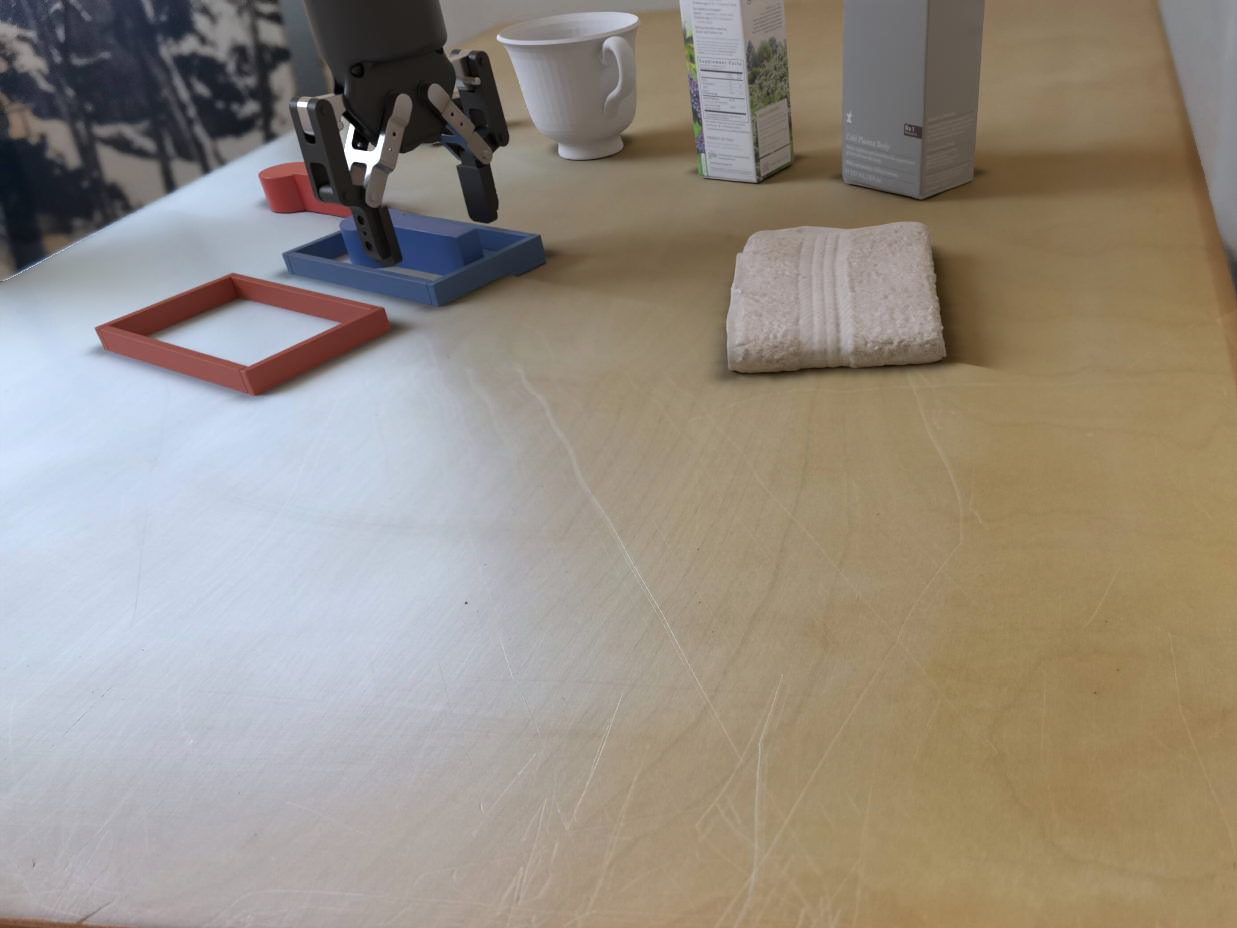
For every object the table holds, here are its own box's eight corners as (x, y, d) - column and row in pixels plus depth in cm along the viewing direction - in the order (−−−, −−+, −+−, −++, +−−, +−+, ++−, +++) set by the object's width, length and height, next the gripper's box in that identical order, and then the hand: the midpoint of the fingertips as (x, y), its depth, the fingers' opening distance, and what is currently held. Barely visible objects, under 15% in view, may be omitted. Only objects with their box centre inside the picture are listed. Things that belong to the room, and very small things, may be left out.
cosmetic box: (840, 184, 87) (828, -52, 77) (902, 161, 91) (898, -68, 81) (924, 204, 82) (921, -47, 72) (986, 178, 85) (991, -64, 76)
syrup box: (738, 158, 95) (716, -40, 86) (797, 164, 92) (782, -39, 83) (698, 178, 91) (672, -26, 82) (759, 185, 88) (739, -26, 79)
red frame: (107, 356, 70) (93, 327, 69) (243, 299, 76) (232, 272, 75) (258, 403, 63) (245, 372, 61) (394, 337, 69) (384, 307, 68)
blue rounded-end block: (338, 265, 79) (324, 222, 77) (387, 244, 82) (374, 202, 80) (454, 289, 74) (442, 243, 72) (502, 266, 76) (491, 221, 75)
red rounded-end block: (259, 209, 93) (245, 172, 91) (303, 193, 96) (291, 157, 94) (351, 226, 87) (339, 187, 85) (396, 209, 90) (384, 170, 88)
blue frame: (290, 280, 78) (281, 253, 77) (399, 235, 85) (391, 209, 84) (440, 314, 71) (432, 284, 70) (546, 262, 78) (541, 234, 77)
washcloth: (928, 254, 74) (927, 205, 72) (952, 374, 59) (952, 318, 57) (746, 265, 74) (741, 218, 72) (727, 387, 60) (720, 333, 58)
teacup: (583, 187, 91) (557, 51, 85) (498, 155, 101) (470, 31, 95) (704, 152, 97) (688, 23, 91) (614, 125, 106) (594, 6, 100)
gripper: (413, -56, 72) (476, 203, 82) (215, -16, 63) (314, 270, 72) (496, -55, 68) (553, 215, 78) (301, -13, 59) (392, 287, 69)
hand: (438, 241), depth 75 cm, fingers open, 8 cm apart
